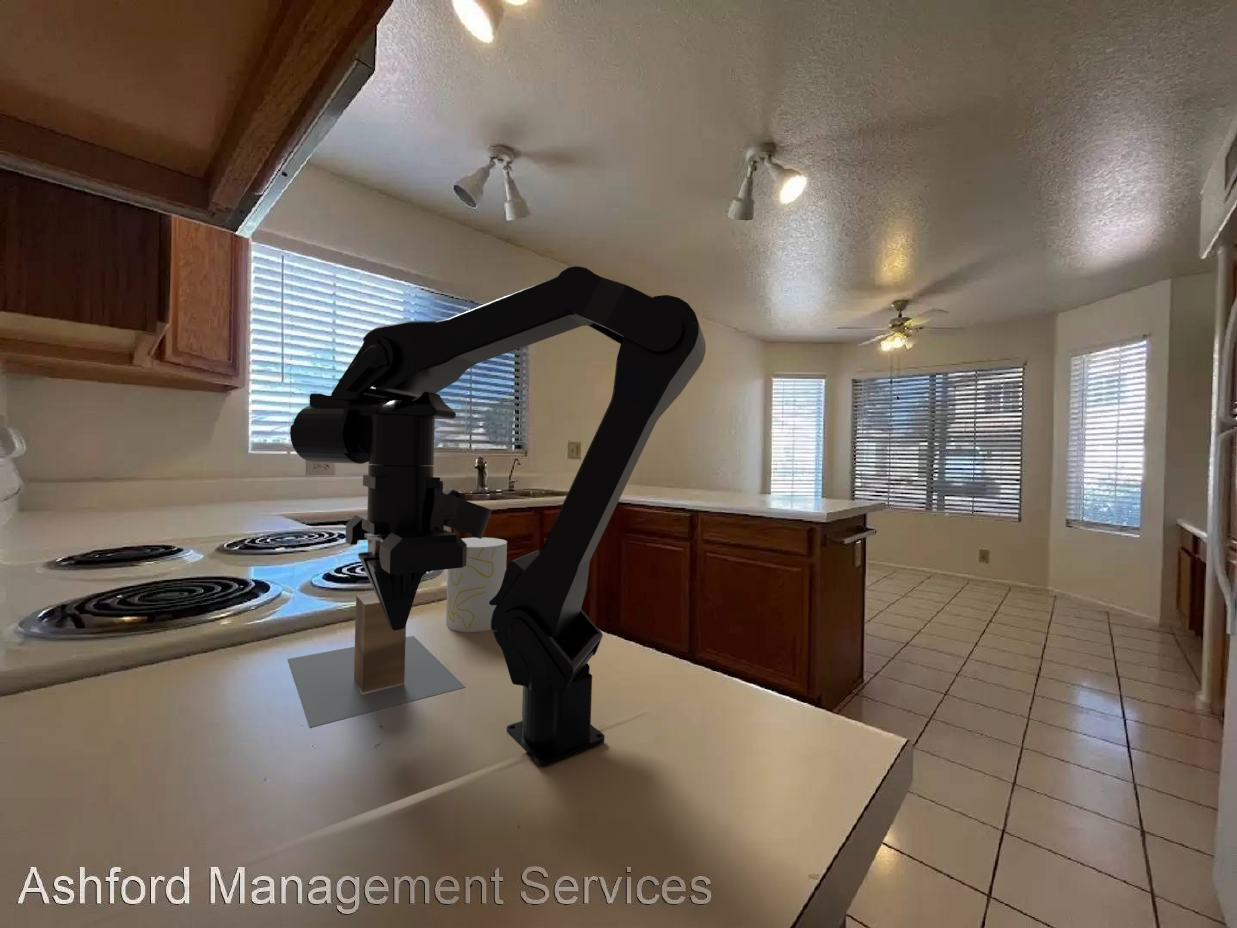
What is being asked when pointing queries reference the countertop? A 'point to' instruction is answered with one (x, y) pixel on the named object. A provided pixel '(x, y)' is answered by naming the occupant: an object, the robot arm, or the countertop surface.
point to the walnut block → (377, 648)
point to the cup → (475, 585)
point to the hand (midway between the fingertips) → (397, 628)
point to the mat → (337, 695)
